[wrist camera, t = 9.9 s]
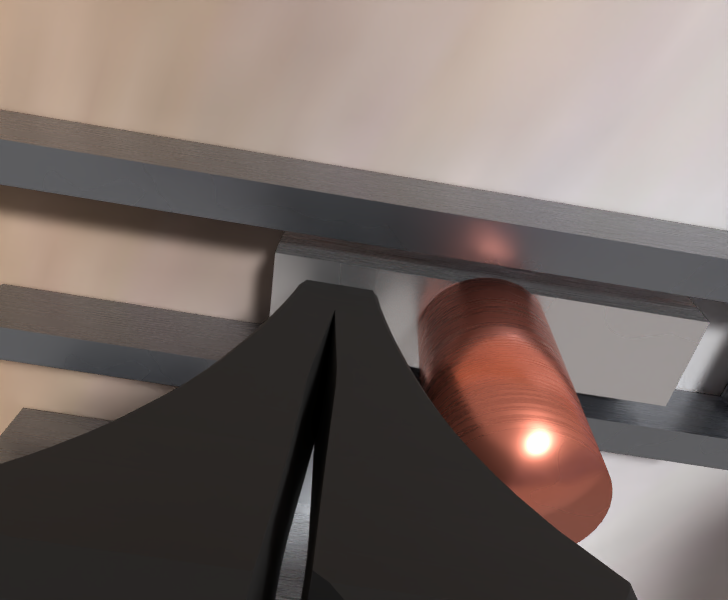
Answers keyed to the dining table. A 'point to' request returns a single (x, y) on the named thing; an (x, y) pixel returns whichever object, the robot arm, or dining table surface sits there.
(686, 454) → the press
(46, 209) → the dining table surface
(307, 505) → the block
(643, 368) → the lever
